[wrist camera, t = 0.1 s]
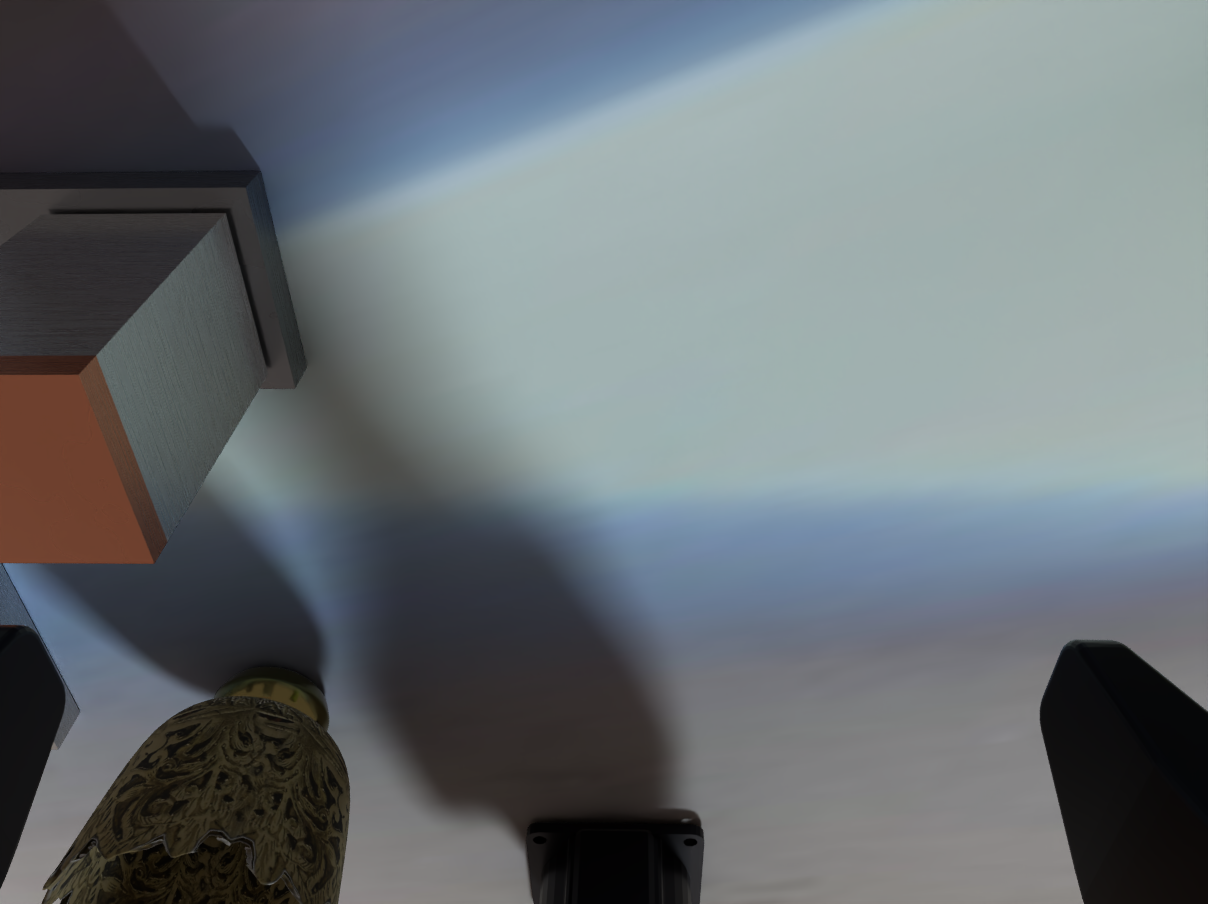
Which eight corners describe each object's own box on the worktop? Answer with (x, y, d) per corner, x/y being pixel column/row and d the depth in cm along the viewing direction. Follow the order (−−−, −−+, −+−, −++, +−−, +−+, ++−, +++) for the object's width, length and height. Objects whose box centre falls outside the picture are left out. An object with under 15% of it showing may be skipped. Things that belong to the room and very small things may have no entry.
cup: (141, 720, 32) (17, 961, 26) (192, 582, 28) (61, 826, 22) (350, 786, 34) (284, 1026, 28) (425, 666, 30) (367, 912, 24)
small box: (268, 374, 23) (154, 563, 17) (102, 374, 23) (-61, 562, 17) (225, 213, 20) (78, 374, 15) (41, 214, 20) (-170, 375, 15)
